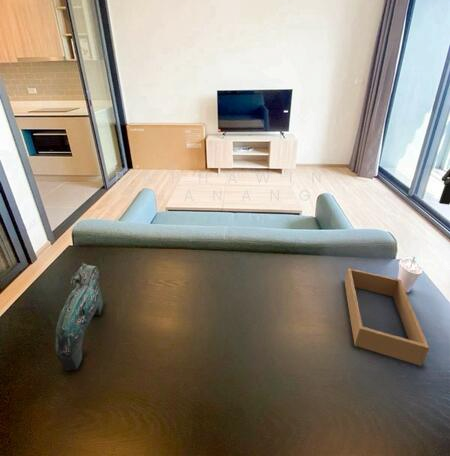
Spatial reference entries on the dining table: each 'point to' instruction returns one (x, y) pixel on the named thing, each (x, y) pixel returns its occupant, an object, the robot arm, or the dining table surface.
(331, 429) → the dining table surface
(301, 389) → the dining table surface
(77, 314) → the dark teal curved piece
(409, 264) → the smoothie
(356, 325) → the wooden box
